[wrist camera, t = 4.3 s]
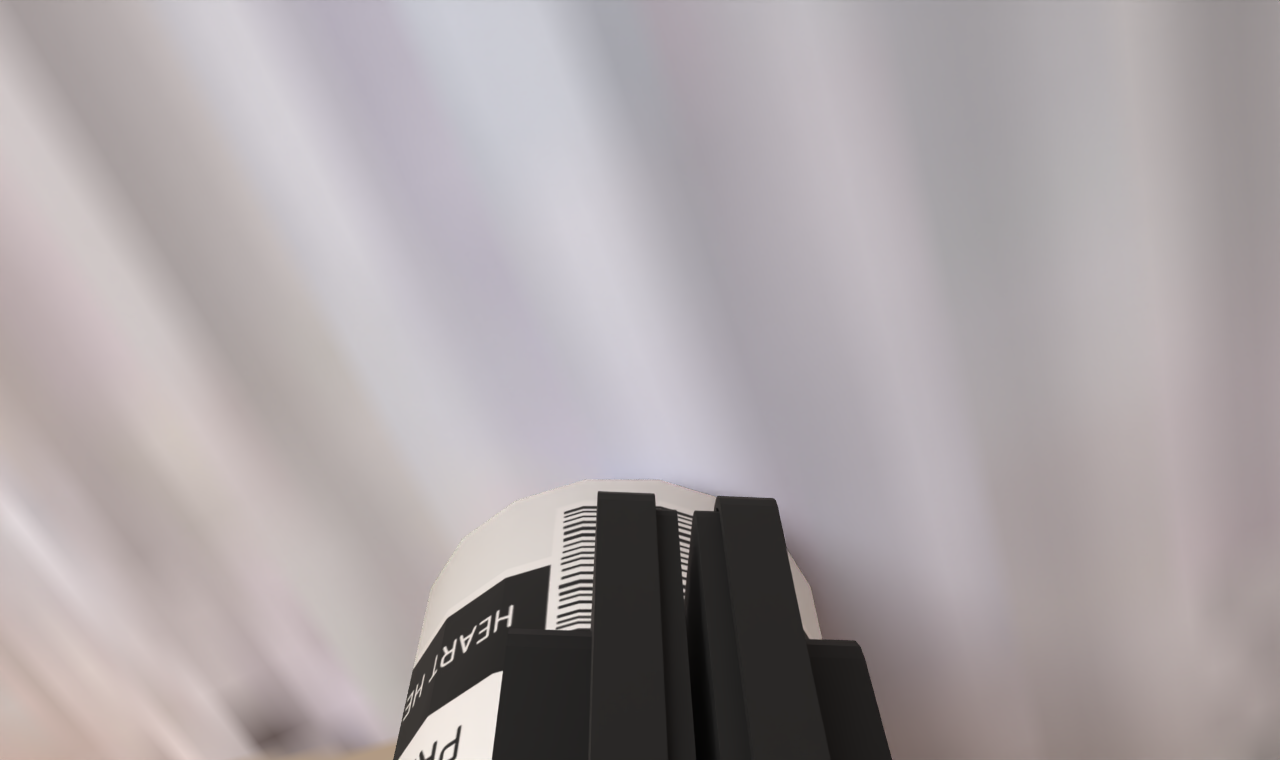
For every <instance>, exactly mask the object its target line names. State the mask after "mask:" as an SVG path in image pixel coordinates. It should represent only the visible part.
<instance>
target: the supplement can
mask: <svg viewBox="0 0 1280 760" xmlns="http://www.w3.org/2000/svg"><path fill="white" fill-rule="evenodd" d="M598 491H608V492H632V493H654V494H655V501H656V509H673V510H677V515H678V527H679V541H680V554H681V567H682V580H683V593H684V597H685V587H686V577H687V567H688V557H689V547H690V537H691V527H692V518H693V513H694V511H695V510H697V511H714V505H715V501H716V498H717V497H714V496H711V495H708V494H705V493H701V492H698V491H695V490H691V489H688V488H685V487H682V486H678V485H675V484H672V483H669V482H665V481H662V480H582V481H578V482H575V483H572V484H568V485H565V486H562V487H559V488H555V489H552V490H549V491H545V492H542V493H539V494H535V495H532V496H529V497H526V498H522V499H519V500H516V501H514V502H513V503H512V504H510V505H509V506H507V507H506V508H505V509H503V510H502V511H500V512H499V513H498V514H496V515H495V516H493V517H492V518H491V519H489V520H488V521H486V522H485V523H484V524H482V525H481V526H479V527H478V528H477V529H475V530H474V531H472V532H471V533H470V534H468V535H467V536H465V537H464V538H463V539H462V540H461V542H460V543H459V545H458V546H457V548H456V550H455V551H454V553H453V554H452V556H451V557H450V559H449V560H448V562H447V564H446V565H445V567H444V568H443V570H442V571H441V573H440V575H439V576H438V578H437V579H436V581H435V582H434V584H433V585H432V587H431V590H430V595H429V599H428V604H427V609H426V613H425V618H424V622H423V627H422V631H421V636H420V640H419V645H418V649H417V654H416V659H415V663H414V668H413V672H412V677H411V681H410V686H409V690H408V695H407V700H406V704H405V709H404V713H403V718H402V722H401V727H400V731H399V736H398V740H397V745H396V750H395V754H394V759H393V760H492V753H493V745H494V737H495V729H496V721H497V713H498V706H499V698H500V690H501V682H502V674H503V666H504V658H505V650H506V643H507V636H508V632H509V628H517V629H545V630H572V631H590V629H591V610H592V590H593V571H594V551H595V532H596V512H597V495H598ZM787 553H788V558H789V563H790V568H791V572H792V577H793V582H794V587H795V592H796V596H797V601H798V606H799V611H800V616H801V620H802V625H803V630H804V635H805V639H822V636H821V631H820V627H819V622H818V618H817V613H816V609H815V604H814V600H813V595H812V591H811V587H810V585H809V584H808V582H807V581H806V579H805V577H804V576H803V574H802V573H801V571H800V569H799V568H798V566H797V565H796V563H795V561H794V560H793V558H792V557H791V555H790V553H789V552H788V550H787Z"/></svg>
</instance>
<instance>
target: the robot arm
mask: <svg viewBox="0 0 1280 760" xmlns="http://www.w3.org/2000/svg"><path fill="white" fill-rule="evenodd" d="M492 760H892V758H891V754H890V750H889V747H888V743H887V739H886V736H885V732H884V728H883V725H882V721H881V717H880V713H879V710H878V706H877V702H876V699H875V695H874V691H873V687H872V684H871V680H870V676H869V673H868V669H867V665H866V661H865V658H864V655H863V653H862V650H861V647H860V646H859V644H858V643H857V642H856V641H849V640H822V639H805V635H804V630H803V625H802V620H801V616H800V611H799V606H798V601H797V596H796V592H795V587H794V582H793V577H792V572H791V568H790V563H789V558H788V553H787V549H786V544H785V539H784V534H783V529H782V525H781V520H780V515H779V510H778V506H777V503H776V500H775V499H774V498H753V497H729V496H717V498H716V501H715V505H714V511H697V510H695V511H694V513H693V518H692V527H691V537H690V547H689V557H688V567H687V577H686V587H685V597H684V593H683V580H682V567H681V554H680V541H679V527H678V515H677V510H673V509H656V501H655V494H654V493H632V492H608V491H598V495H597V512H596V532H595V551H594V571H593V590H592V610H591V629H590V631H572V630H545V629H517V628H509V632H508V636H507V643H506V650H505V658H504V666H503V674H502V682H501V690H500V698H499V706H498V713H497V721H496V729H495V737H494V745H493V753H492Z"/></svg>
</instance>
